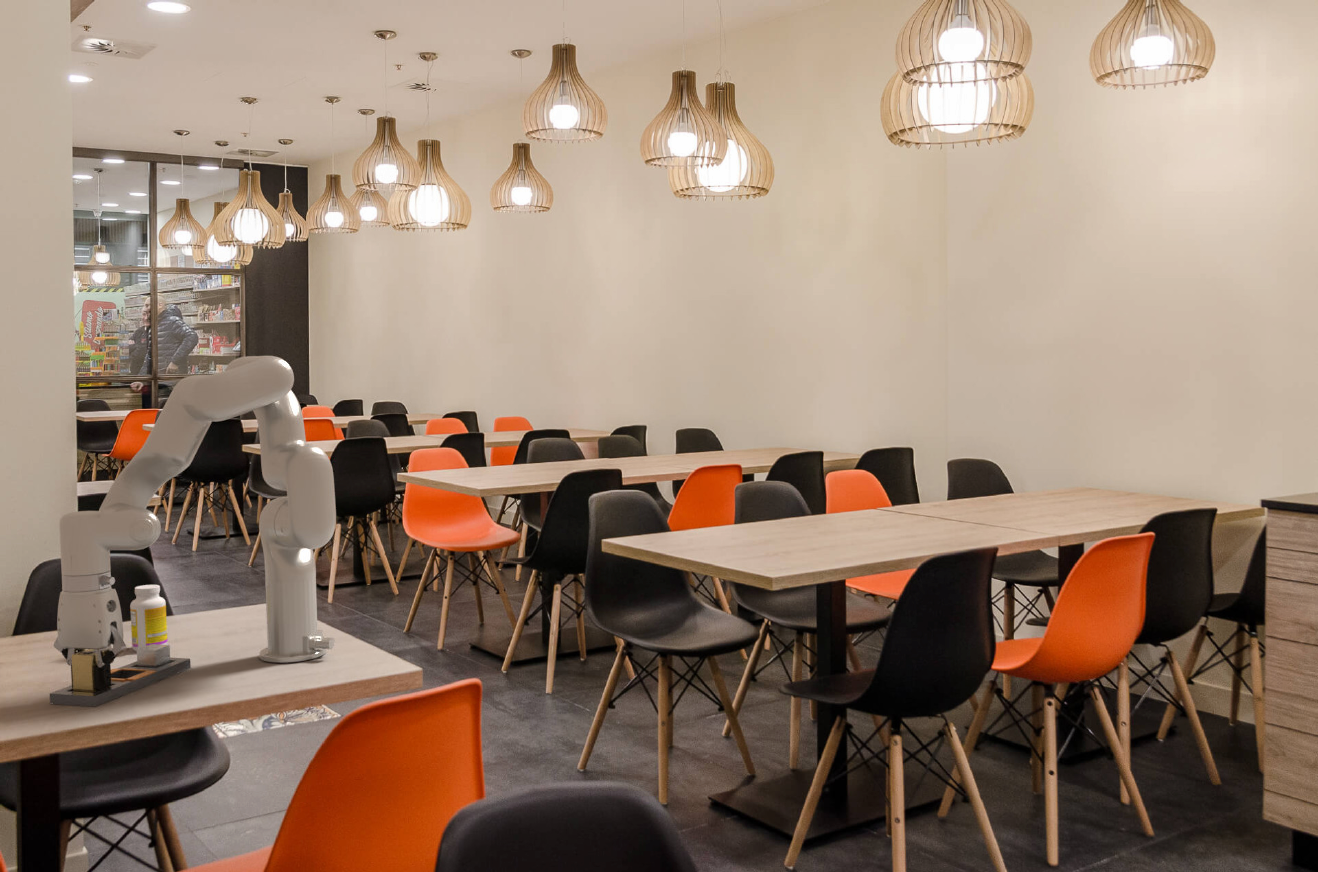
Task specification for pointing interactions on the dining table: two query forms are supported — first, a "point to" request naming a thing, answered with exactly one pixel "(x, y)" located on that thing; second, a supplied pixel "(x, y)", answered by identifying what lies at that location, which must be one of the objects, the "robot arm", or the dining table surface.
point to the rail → (120, 683)
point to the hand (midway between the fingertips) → (91, 685)
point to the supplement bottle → (148, 617)
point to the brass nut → (84, 671)
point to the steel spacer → (153, 656)
